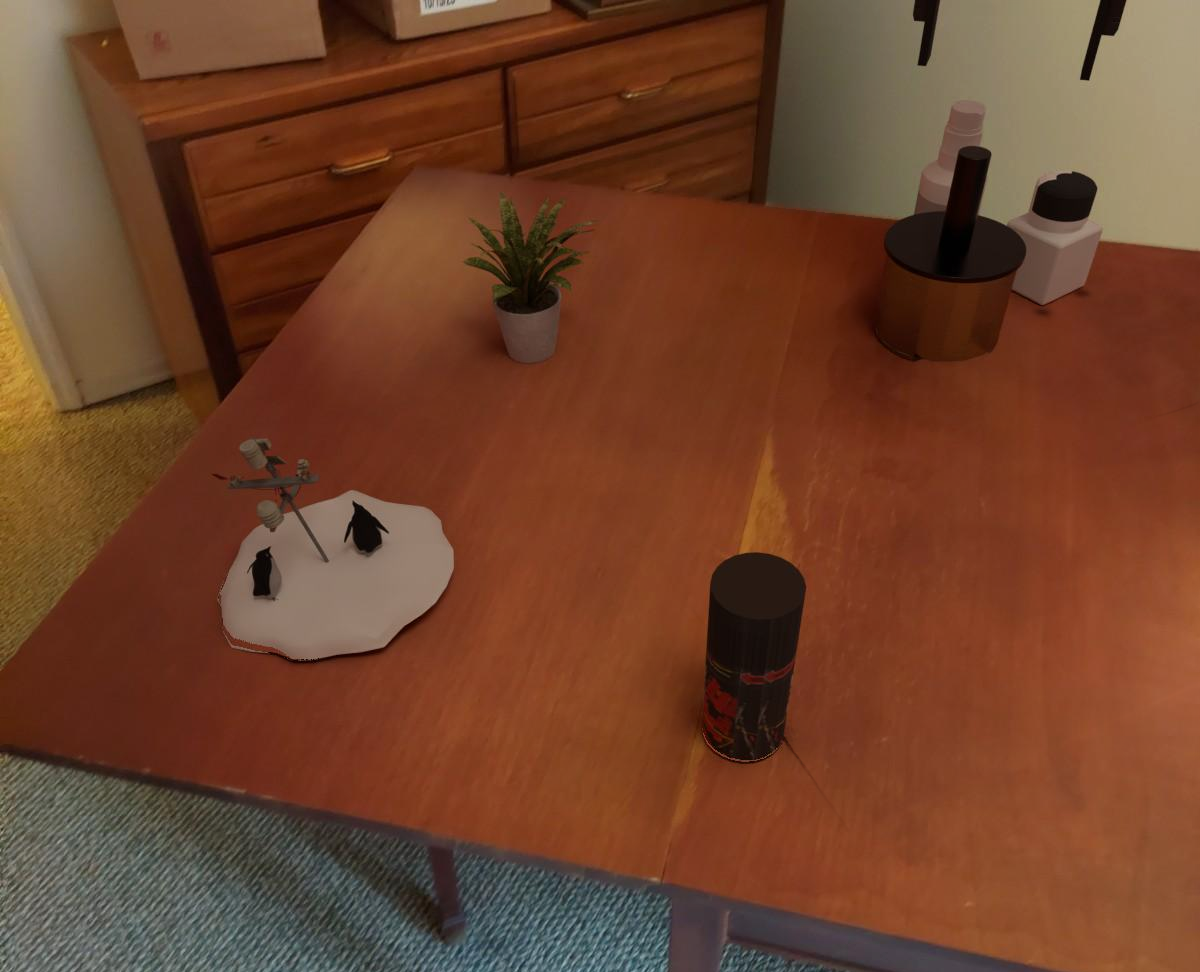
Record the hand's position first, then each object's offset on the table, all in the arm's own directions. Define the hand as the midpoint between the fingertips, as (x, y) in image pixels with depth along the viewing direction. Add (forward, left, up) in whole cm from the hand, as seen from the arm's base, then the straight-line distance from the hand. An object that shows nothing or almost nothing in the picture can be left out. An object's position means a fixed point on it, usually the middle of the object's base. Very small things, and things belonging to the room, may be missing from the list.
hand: (1003, 68), depth 93 cm
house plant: (+16, +40, -27) cm, 51 cm away
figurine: (-8, +67, -27) cm, 73 cm away
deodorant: (-36, +44, -27) cm, 63 cm away
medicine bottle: (+4, -16, -27) cm, 31 cm away
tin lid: (+1, +1, -17) cm, 17 cm away
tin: (+1, 0, -27) cm, 27 cm away
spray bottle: (+12, -8, -27) cm, 30 cm away
